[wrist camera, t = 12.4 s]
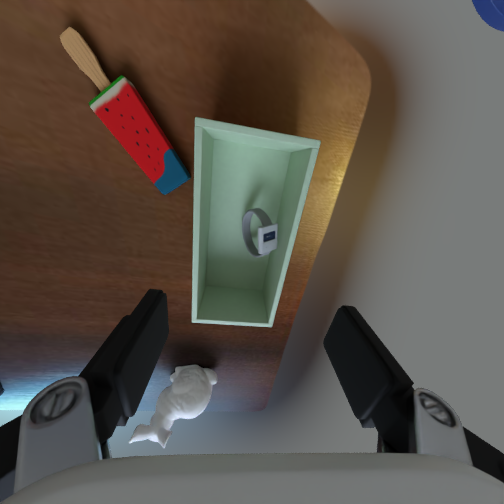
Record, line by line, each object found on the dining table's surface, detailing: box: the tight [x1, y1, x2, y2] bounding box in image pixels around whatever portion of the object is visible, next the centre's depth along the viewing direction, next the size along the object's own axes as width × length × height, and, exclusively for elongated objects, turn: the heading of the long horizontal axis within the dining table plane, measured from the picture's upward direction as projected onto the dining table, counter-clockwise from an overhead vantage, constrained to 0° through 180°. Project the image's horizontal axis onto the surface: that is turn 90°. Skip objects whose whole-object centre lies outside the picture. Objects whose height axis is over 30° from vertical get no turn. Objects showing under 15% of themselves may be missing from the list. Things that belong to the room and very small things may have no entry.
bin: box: [192, 117, 321, 327], centre depth 22 cm, size 21×10×8 cm, turn 171°
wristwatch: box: [242, 208, 278, 257], centre depth 23 cm, size 6×3×5 cm
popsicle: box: [60, 27, 191, 195], centre depth 19 cm, size 5×2×15 cm
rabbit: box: [129, 365, 218, 448], centre depth 33 cm, size 12×9×12 cm
